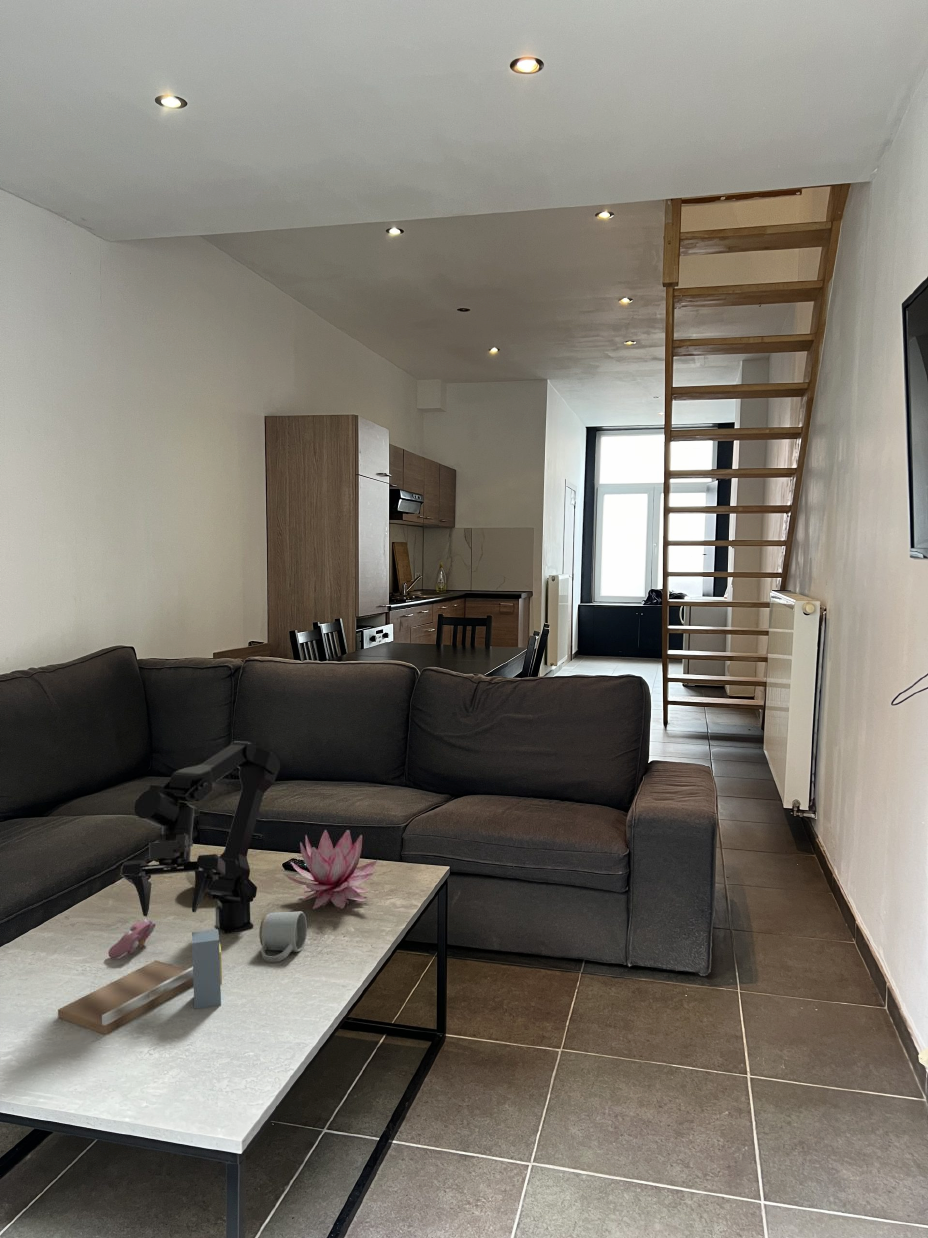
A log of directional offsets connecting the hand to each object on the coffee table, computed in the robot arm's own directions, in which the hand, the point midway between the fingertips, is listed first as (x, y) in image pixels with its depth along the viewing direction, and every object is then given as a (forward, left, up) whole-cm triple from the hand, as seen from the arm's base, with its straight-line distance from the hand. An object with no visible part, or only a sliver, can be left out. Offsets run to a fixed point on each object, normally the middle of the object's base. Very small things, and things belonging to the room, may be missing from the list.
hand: (169, 914), depth 169 cm
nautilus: (-24, -45, -14) cm, 53 cm away
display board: (+8, +2, -13) cm, 16 cm away
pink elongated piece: (+2, -19, -14) cm, 24 cm away
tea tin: (-3, +11, -13) cm, 18 cm away
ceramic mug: (-23, -1, -14) cm, 26 cm away
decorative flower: (-43, -20, -13) cm, 49 cm away
